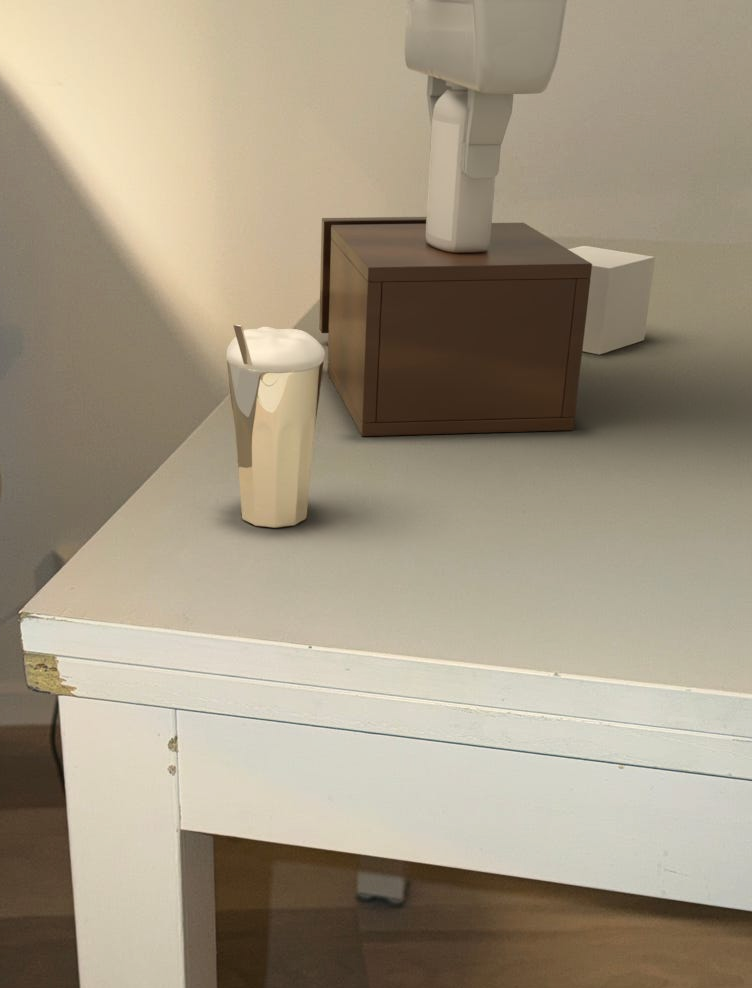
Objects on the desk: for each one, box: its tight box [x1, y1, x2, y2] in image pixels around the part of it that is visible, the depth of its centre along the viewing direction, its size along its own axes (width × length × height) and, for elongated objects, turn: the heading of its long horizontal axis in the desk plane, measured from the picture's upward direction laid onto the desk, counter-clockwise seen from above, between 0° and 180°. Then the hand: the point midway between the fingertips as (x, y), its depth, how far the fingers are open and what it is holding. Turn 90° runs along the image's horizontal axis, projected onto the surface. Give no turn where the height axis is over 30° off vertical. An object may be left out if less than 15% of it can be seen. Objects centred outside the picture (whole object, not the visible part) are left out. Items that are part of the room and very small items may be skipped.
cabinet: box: [327, 222, 592, 437], centre depth 80 cm, size 14×13×10 cm
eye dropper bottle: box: [425, 81, 496, 253], centre depth 74 cm, size 4×6×12 cm
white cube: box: [567, 245, 656, 356], centre depth 95 cm, size 6×6×6 cm
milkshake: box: [225, 323, 326, 529], centre depth 62 cm, size 4×5×10 cm
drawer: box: [318, 216, 427, 334], centre depth 90 cm, size 18×11×8 cm, turn 6°
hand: (462, 168), depth 75 cm, fingers open, 6 cm apart
